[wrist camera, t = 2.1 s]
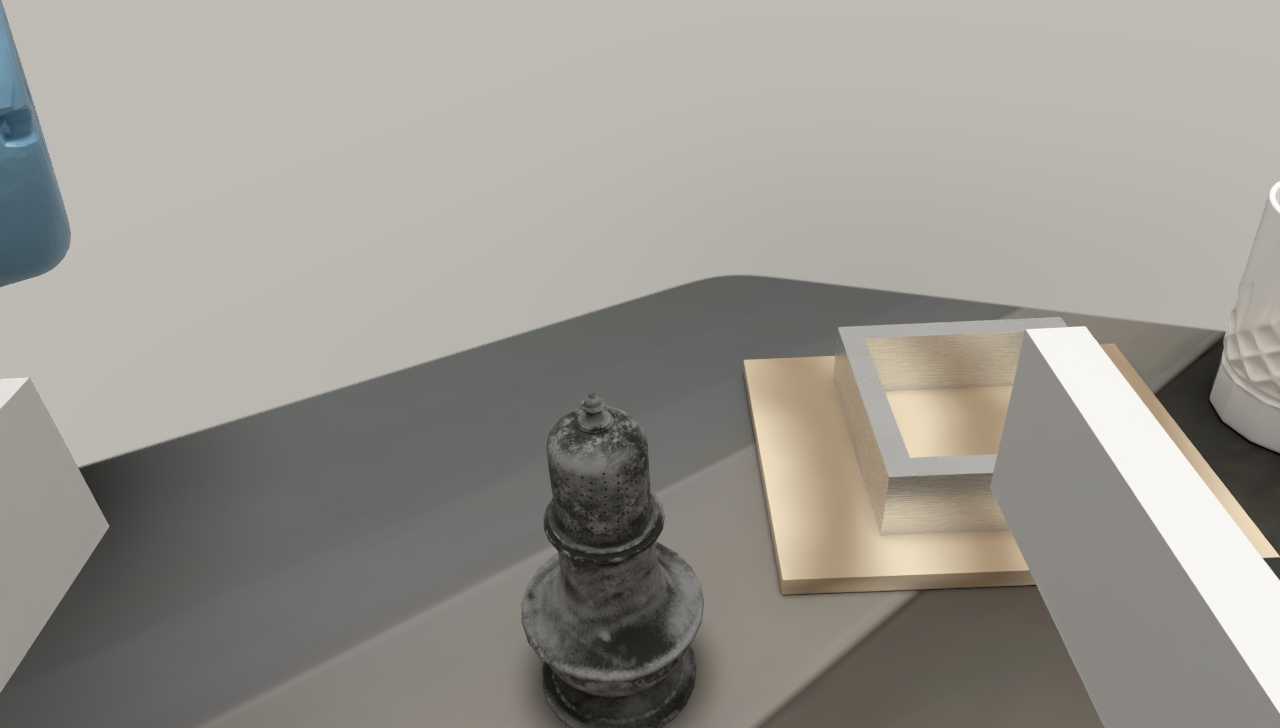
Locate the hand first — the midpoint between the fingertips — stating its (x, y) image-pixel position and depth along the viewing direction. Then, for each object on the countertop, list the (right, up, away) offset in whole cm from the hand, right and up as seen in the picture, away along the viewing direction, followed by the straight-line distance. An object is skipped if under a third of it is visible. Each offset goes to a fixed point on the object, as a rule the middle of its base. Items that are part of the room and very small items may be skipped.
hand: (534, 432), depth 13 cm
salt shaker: (+1, -10, +19) cm, 21 cm away
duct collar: (+16, -2, +26) cm, 31 cm away
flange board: (+16, -3, +27) cm, 31 cm away
